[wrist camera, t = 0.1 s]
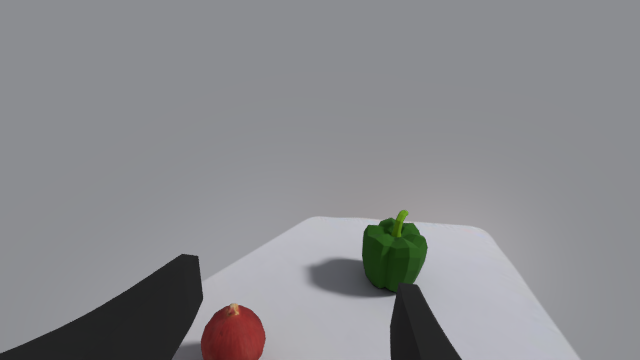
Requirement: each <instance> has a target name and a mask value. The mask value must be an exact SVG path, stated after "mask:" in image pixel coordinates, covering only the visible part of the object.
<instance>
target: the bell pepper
mask: <svg viewBox="0 0 640 360" xmlns="http://www.w3.org/2000/svg"><path fill="white" fill-rule="evenodd" d="M407 215H408V211H405V210H402V211H401V212H400V213H399V214H398V216H397V218H396V220H394V219H393V218H389V219H386V220H383V221H381V222H380V223H379V225H378V226H377V225H368V226H367V228H366V229H365V231H364V236H363V249H362V258H363V264H364V269H365V273H366V276H367V277H368V279H369V280H370V281H371V282H372V284H373V285H374V286H376V287H379V288H384V287H386V288H387V289H389V290H390V291H394V292H397V289H398V284H399V282H400V283H407V284H413V283H414V282H415V280H416V278H417V276H418V274H419V272H420V270H421V268H422V266H423V264H424V261H425V258H426V253H427V248H428V247H427V243H426V239H425V238H424V237H423V236H421V235H420V233H419V230H418V229H417V228H416V226H415V225H414V224H413V223H403V221H404V219H405V217H406V216H407Z"/></svg>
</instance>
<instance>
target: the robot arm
mask: <svg viewBox="0 0 640 360" xmlns="http://www.w3.org/2000/svg"><path fill="white" fill-rule="evenodd" d="M202 301H203V292H202V284H201V276H200V267H199V259H198V256H194V255H187V254H181V255H180V256H178V257H176V258H175V259H174V260H172V261H170V262H169V263H167V264H166V265H165V266H163V267H162V268H160V269H158V270H157V271H155V272H154V273H153V274H151V275H150V276H148V277H147V278H145V279H143V280H142V281H140V282H139V283H137V284H136V285H134V286H133V287H131V288H130V289H128V290H127V291H125V292H123V293H122V294H120V295H118V296H117V297H115V298H113V299H112V300H110V301H108V302H107V303H105V304H103V305H102V306H100V307H98V308H96V309H95V310H93V311H91V312H89V313H87V314H86V315H84V316H82V317H80V318H78V319H76V320H74V321H72V322H70V323H68V324H66V325H64V326H62V327H60V328H58V329H56V330H54V331H52V332H49V333H47V334H45V335H43V336H40V337H38V338H36V339H34V340H32V341H29V342H27V343H25V344H23V345H20V346H18V347H16V348H13V349H11V350H8V351H6V352H3V353H0V360H171V359H172V358H173V356H174V354H175V353H176V351H177V349H178V348H179V346H180V344H181V343H182V341H183V339H184V337H185V336H186V334H187V332H188V331H189V329H190V327H191V325H192V323H193V321H194V319H195V317H196V315H197V312H198V310H199V308H200V305H201V303H202ZM390 348H391V360H462V359H461V358H460V356H459V355H458V353H457V352H456V350H455V349H454V347H453V346H452V344H451V343H450V341H449V340H448V338H447V336H446V335H445V333H444V332H443V330H442V328H441V327H440V325H439V323H438V322H437V320H436V318H435V317H434V315H433V313H432V311H431V309H430V308H429V306H428V304H427V302H426V300H425V298H424V296H423V294H422V292H421V290H420V288H419V287H418V286H417V285H415V284H407V283H400V282H399V284H398V289H397V294H396V299H395V304H394V309H393V314H392V319H391V324H390Z"/></svg>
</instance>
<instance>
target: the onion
mask: <svg viewBox="0 0 640 360" xmlns="http://www.w3.org/2000/svg"><path fill="white" fill-rule="evenodd" d="M265 339H266V338H265V331H264V329H263V326H262V323H261V320H260V319H259V317H258V316H257V315H256V314H255V313H254V312H253V311H252V310H250V309H248V308H246V307H243V306H241V305H238V304H230V305H229V306H226V307H224V308H223V309H221V310H219V311H218V312H216V313H215V314H214V315H213V317H212V318H211V320H210V321H209V322H208V324H207V325H206V326H205V329H204V332H203V335H202V339H201V350H202V355H203V359H204V360H258V359H259V358H260V357H261V355H262V352H263V348H264V344H265Z"/></svg>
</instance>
